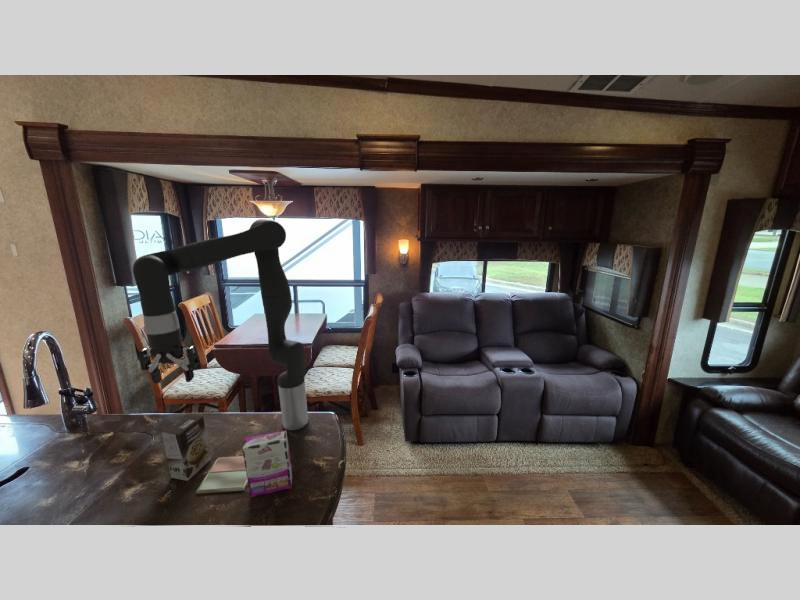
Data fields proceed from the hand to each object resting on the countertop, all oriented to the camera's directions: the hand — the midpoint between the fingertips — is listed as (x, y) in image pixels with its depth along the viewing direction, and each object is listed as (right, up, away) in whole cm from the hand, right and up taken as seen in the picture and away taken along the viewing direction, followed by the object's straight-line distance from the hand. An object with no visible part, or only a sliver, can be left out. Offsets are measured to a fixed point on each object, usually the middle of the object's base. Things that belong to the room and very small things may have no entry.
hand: (174, 381), depth 90 cm
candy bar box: (+28, -31, +1) cm, 42 cm away
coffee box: (0, -29, +8) cm, 30 cm away
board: (+13, -30, +5) cm, 33 cm away
